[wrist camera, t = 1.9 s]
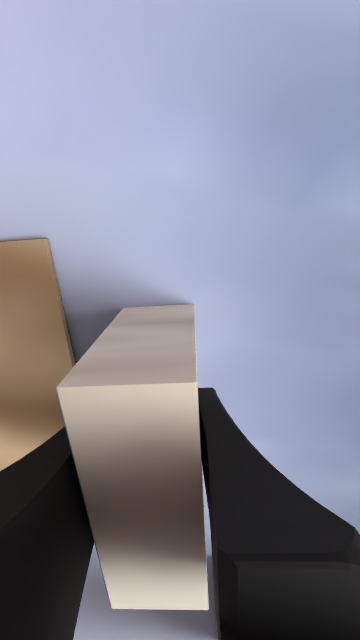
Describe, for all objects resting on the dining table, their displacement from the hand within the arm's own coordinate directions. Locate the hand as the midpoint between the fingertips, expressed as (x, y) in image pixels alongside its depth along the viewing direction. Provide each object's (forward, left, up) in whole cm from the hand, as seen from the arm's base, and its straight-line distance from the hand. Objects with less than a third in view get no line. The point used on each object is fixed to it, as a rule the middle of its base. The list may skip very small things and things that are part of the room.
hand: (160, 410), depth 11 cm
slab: (0, 0, -2) cm, 2 cm away
